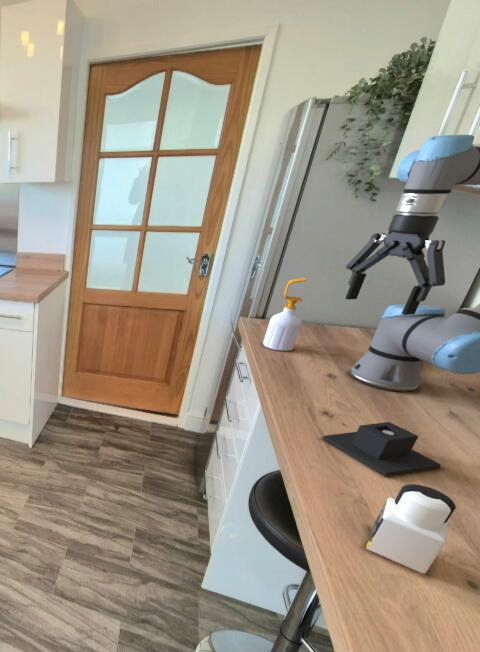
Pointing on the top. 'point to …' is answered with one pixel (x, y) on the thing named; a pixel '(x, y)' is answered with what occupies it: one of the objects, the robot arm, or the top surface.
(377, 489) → the top surface
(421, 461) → the base pad
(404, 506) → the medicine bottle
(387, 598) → the top surface
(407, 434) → the socket block
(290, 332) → the soap bottle
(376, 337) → the robot arm
